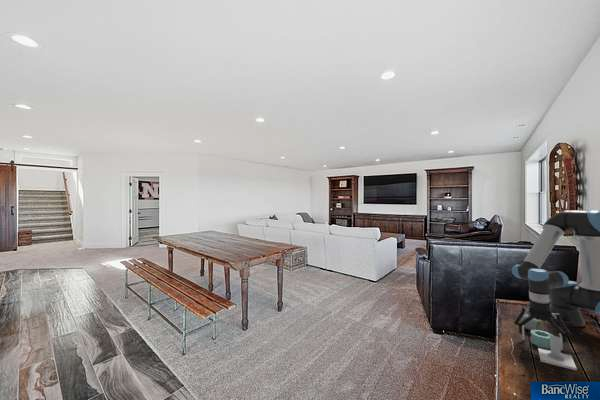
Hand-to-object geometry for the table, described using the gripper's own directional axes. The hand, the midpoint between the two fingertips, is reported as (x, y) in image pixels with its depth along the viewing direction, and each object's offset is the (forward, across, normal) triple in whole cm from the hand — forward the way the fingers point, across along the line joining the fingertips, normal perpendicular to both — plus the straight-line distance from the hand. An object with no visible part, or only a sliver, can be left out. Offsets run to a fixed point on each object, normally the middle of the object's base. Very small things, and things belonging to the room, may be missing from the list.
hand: (541, 343), depth 126 cm
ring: (0, 0, 0) cm, 0 cm away
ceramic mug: (0, -3, +16) cm, 16 cm away
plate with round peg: (0, +4, -13) cm, 13 cm away
